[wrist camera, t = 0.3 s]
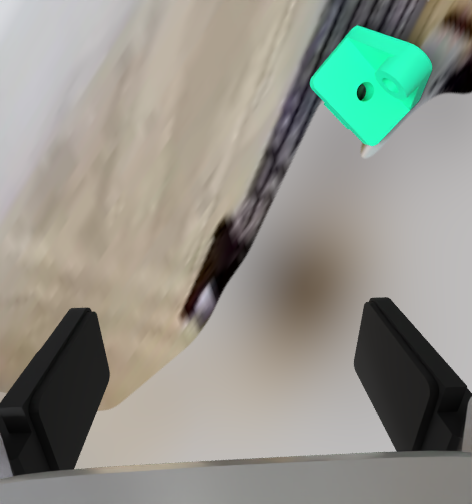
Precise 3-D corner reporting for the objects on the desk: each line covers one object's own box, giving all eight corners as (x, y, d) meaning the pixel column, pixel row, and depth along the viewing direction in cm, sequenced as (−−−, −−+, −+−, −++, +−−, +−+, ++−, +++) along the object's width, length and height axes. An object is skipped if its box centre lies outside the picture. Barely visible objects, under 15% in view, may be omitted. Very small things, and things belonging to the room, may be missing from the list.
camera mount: (304, 83, 42) (329, 77, 32) (349, 30, 39) (389, 6, 30) (364, 147, 45) (402, 157, 36) (408, 101, 43) (460, 99, 34)
